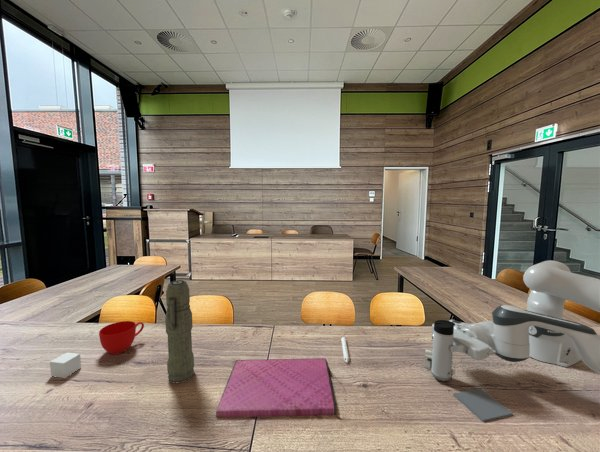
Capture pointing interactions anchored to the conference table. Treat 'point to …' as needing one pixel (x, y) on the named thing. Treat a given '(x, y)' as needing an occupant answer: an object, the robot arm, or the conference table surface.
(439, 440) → the conference table surface
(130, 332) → the ceramic cup
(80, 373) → the conference table surface
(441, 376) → the travel mug
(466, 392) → the slate pad
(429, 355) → the lettered cube
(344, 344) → the marker
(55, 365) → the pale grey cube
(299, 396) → the laptop bag
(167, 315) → the thermos
